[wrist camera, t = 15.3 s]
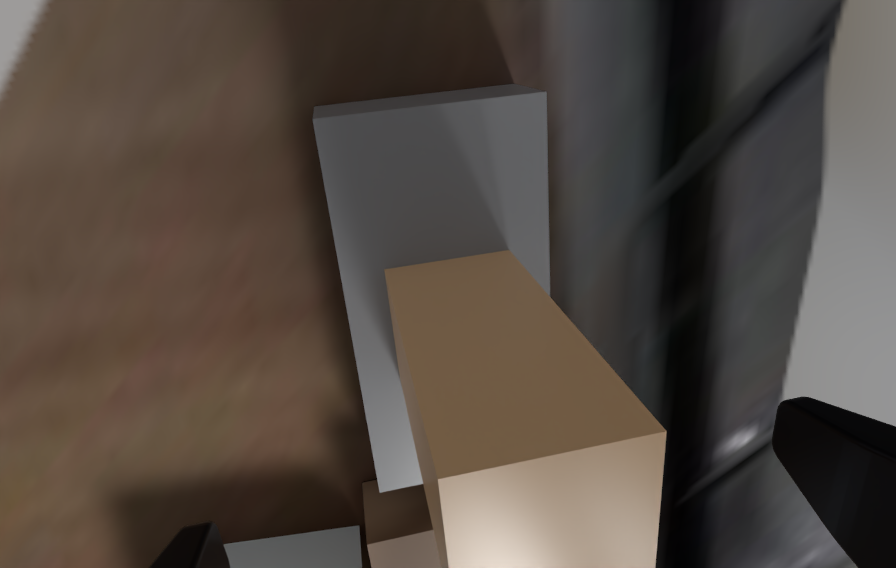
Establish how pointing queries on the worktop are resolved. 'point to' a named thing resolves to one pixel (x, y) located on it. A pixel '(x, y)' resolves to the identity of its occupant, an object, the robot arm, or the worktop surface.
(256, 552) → the tile
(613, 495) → the tan block grey base
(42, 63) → the worktop surface
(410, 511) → the stop bar
